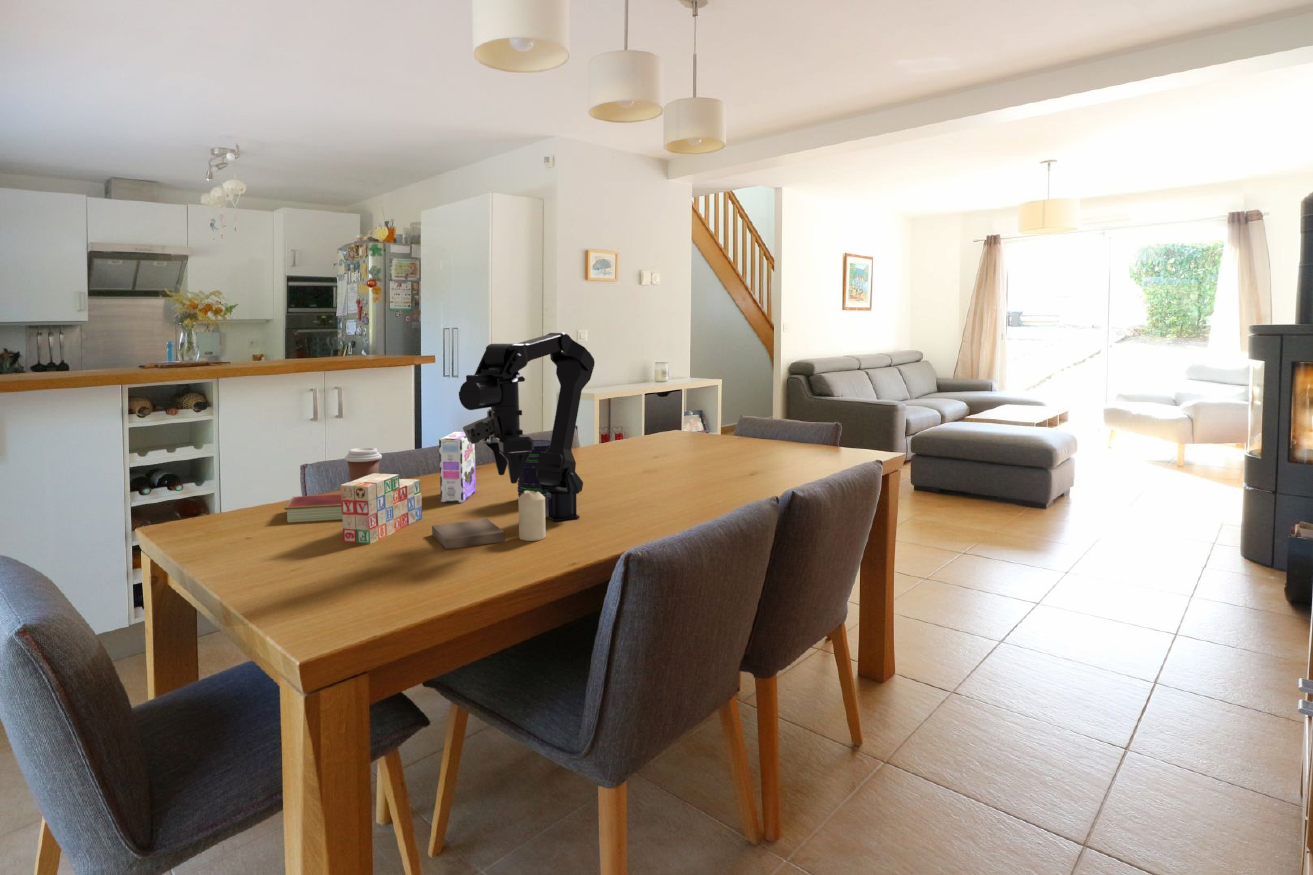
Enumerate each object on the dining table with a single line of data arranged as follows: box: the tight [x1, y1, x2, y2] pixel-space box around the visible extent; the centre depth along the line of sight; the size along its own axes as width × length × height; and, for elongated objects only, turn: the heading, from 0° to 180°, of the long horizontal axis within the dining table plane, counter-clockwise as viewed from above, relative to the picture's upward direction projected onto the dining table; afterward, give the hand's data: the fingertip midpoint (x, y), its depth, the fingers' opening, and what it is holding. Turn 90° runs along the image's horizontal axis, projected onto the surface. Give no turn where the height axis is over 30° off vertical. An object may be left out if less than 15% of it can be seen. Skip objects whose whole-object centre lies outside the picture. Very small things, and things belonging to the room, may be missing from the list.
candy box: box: [438, 431, 477, 504], centre depth 195 cm, size 14×6×16 cm, turn 179°
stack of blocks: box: [340, 473, 423, 545], centre depth 164 cm, size 21×6×12 cm, turn 169°
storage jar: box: [517, 439, 551, 498], centre depth 191 cm, size 10×10×15 cm
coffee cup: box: [344, 446, 383, 482], centre depth 197 cm, size 9×9×12 cm
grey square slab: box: [431, 518, 506, 550], centre depth 158 cm, size 12×12×2 cm
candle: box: [517, 490, 547, 542], centre depth 158 cm, size 6×6×10 cm
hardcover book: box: [284, 493, 342, 523], centre depth 178 cm, size 12×21×4 cm, turn 107°
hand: (507, 479), depth 158 cm, fingers open, 9 cm apart
